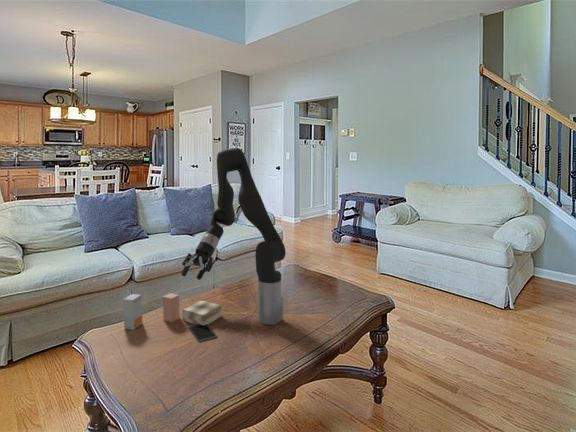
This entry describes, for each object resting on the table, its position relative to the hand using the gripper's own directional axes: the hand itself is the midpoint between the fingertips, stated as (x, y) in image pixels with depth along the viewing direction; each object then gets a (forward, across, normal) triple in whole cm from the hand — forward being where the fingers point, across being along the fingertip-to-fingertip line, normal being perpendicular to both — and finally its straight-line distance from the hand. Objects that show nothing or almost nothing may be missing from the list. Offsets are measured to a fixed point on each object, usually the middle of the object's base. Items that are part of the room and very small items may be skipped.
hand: (190, 277), depth 161 cm
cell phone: (+21, +19, +1) cm, 28 cm away
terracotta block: (+18, 0, +2) cm, 18 cm away
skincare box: (+27, -8, -6) cm, 29 cm away
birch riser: (+14, +10, +7) cm, 19 cm away
